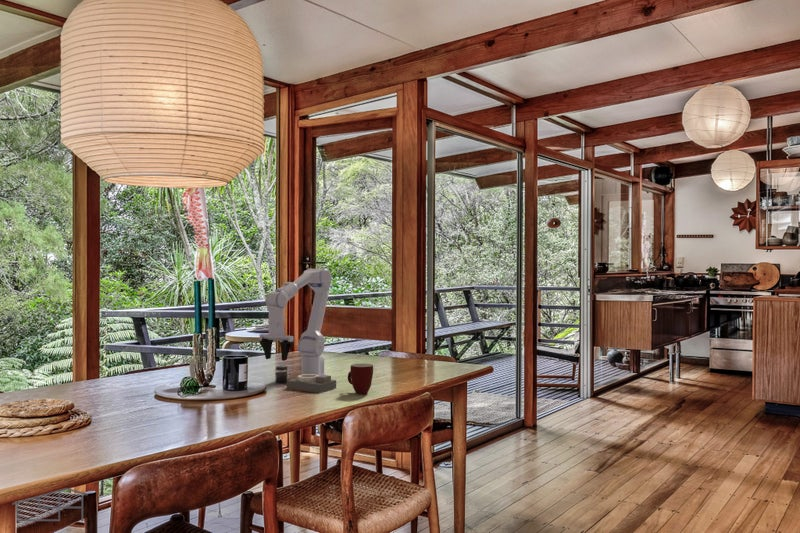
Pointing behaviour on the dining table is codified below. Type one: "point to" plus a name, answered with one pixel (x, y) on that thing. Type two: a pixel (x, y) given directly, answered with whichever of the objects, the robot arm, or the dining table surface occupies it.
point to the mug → (361, 377)
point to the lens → (281, 374)
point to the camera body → (312, 383)
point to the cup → (193, 366)
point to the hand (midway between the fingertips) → (276, 359)
